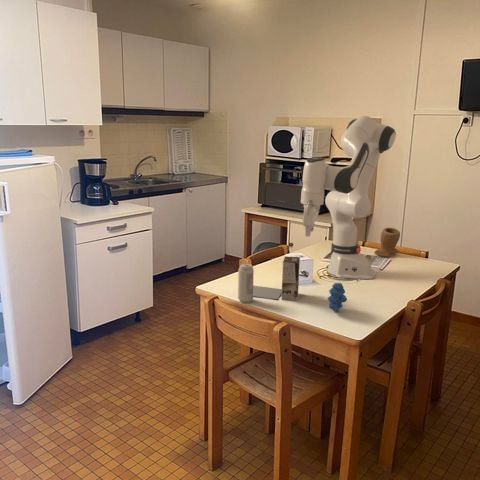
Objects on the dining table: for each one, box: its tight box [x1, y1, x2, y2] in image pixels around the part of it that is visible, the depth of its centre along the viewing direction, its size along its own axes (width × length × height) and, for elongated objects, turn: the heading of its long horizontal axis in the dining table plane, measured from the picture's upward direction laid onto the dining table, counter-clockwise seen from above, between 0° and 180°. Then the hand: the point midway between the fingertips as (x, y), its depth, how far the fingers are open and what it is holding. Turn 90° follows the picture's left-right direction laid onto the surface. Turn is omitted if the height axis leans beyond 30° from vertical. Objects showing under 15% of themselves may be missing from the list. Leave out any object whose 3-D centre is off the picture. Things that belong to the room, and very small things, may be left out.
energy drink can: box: [237, 263, 255, 304], centre depth 194 cm, size 6×6×15 cm
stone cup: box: [374, 227, 401, 258], centre depth 261 cm, size 15×12×15 cm
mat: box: [253, 285, 282, 301], centre depth 204 cm, size 16×12×1 cm
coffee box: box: [280, 256, 301, 302], centre depth 199 cm, size 9×6×16 cm
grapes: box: [327, 282, 348, 313], centre depth 184 cm, size 12×7×12 cm, turn 144°
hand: (309, 233), depth 192 cm, fingers open, 8 cm apart
